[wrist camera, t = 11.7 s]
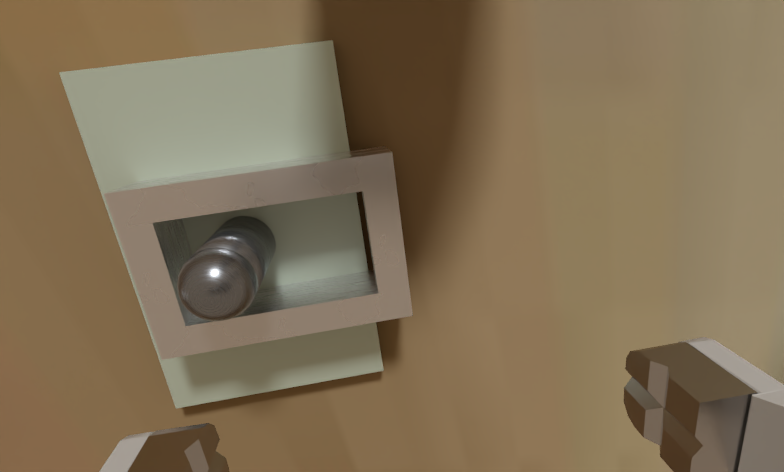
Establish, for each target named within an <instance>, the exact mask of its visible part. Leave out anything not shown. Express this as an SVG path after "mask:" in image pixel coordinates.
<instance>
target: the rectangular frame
mask: <svg viewBox="0 0 784 472" xmlns="http://www.w3.org/2000/svg"><path fill="white" fill-rule="evenodd" d="M360 191H362V198H363V204H364V211H365V217H366V224H367V230H368V237H369V243H370V250H371V256H372V263H373V269H374V270H371V271H365V272H359V273H353V274H347V275H341V276H335V277H329V278H323V279H317V280H311V281H305V282H299V283H293V284H287V285H281V286H275V287H269V288H263V289H259V290H258V292H257V294H256V296H255V299H254V300H253V302H252V303H251V305H250V306H249V307H248V308H247V309H246V310H245V311H244V312H243V313H241V314H240V315H238V316H236V317H234V318H231V319H228V320H224V321H208V320H204V319H201V318H199V317H197V316H195V315H193V314H192V313H191V312H189V311H188V310H187V309H186V308H185V306H184V305H183V303H182V302H181V299H180V297H179V294H178V288H177V282H178V276H179V273H180V270H181V268H182V266H183V265H184V263H185V262H186V261H187V260H188V259H189V258H190V257H191V256H192V255H193V254H192V251H191V247H190V244H189V240H188V237H187V234H186V230H185V227H184V223H183V220H182V218H188V217H195V216H201V215H208V214H214V213H221V212H228V211H234V210H241V209H248V208H254V207H261V206H267V205H274V204H281V203H287V202H294V201H301V200H307V199H314V198H320V197H327V196H334V195H340V194H347V193H354V192H360ZM104 196H105V199H106V202H107V204H108V207H109V210H110V213H111V216H112V219H113V222H114V224H115V227H116V230H117V233H118V236H119V239H120V242H121V244H122V247H123V250H124V253H125V256H126V259H127V262H128V264H129V267H130V270H131V273H132V276H133V279H134V282H135V284H136V287H137V290H138V293H139V296H140V299H141V302H142V304H143V307H144V310H145V313H146V316H147V319H148V322H149V325H150V327H151V330H152V333H153V336H154V339H155V342H156V345H157V347H158V350H159V353H160V356H161V359H162V360H164V359H170V358H176V357H181V356H187V355H193V354H198V353H204V352H210V351H215V350H221V349H227V348H232V347H238V346H244V345H249V344H255V343H261V342H267V341H272V340H278V339H284V338H289V337H295V336H301V335H306V334H312V333H318V332H323V331H329V330H335V329H340V328H346V327H352V326H357V325H363V324H369V323H375V322H380V321H386V320H392V319H397V318H403V317H409V316H413V313H412V305H411V297H410V289H409V281H408V273H407V265H406V257H405V249H404V241H403V233H402V225H401V218H400V210H399V202H398V194H397V186H396V178H395V170H394V162H393V154H392V151H390V150H389V149H388V148H387V147H386V146H381V147H374V148H367V149H360V150H353V151H346V152H339V153H332V154H325V155H318V156H311V157H304V158H297V159H290V160H283V161H276V162H269V163H262V164H255V165H248V166H241V167H234V168H227V169H220V170H213V171H206V172H199V173H192V174H185V175H178V176H171V177H164V178H157V179H150V180H143V181H137V182H134V183H131V184H129V185H126V186H123V187H121V188H118V189H115V190H112V191H110V192H107V193H104Z"/></svg>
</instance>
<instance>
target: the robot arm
mask: <svg viewBox="0 0 784 472" xmlns="http://www.w3.org/2000/svg"><path fill="white" fill-rule="evenodd" d="M625 369H626V370H627V371H628V373H629V374H630V375H631V376H632V378H631V379H630V381H629V382H628V383H627V385H626V386H625V387H624V404H625V407H626V410H627V414H628V417H629V418H630V420H631V422H632V423H633V425H634V427H635V428H636V429H637V430H638V432H639V433H640V434H641V435H642V436H643V437H644V438H646V439H648V440H650V441H652V442H654V443H656V444H658V445H660V457H661V458H662V459H663V460H664V461H665V462H666V464H667V465H668V466H669V467H670V468H671V469H672V470H673V471H674V472H784V385H783V384H782V383H780V382H779V381H777V380H775V379H774V378H772V377H771V376H769V375H768V374H766V373H765V372H763V371H761V370H760V369H758V368H757V367H755V366H754V365H752V364H751V363H749V362H748V361H746V360H744V359H743V358H741V357H740V356H738V355H737V354H735V353H734V352H732V351H731V350H729V349H727V348H726V347H724V346H723V345H721V344H720V343H718V342H717V341H715V340H713V339H710V338H706V337H701V338H696V339H691V340H686V341H681V342H678V343H674V344H668V345H662V346H657V347H651V348H646V349H640V350H634V351H630V352H629V354H628V356H627V358H626V368H625ZM219 440H220V439H219V436H218V434H217V431H216V428H215V426H214V425H212V424H210V423H206V424H199V425H193V426H186V427H179V428H172V429H166V430H159V431H155V432H148V433H141V434H135V435H129V436H127V437H125V438H124V439H122V440H121V441H120V442H119V443H118V445H117V446H116V448H115V449H114V451H113V452H112V454H111V455H110V457H109V458H108V460H107V461H106V462H105V464H104V465H103V467H102V468H101V470H100V471H99V472H229V467H228V464H227V460H226V458H225V457H224V456H222V455H221V454H219V453H218V452H216V448H217V445H218V443H219Z"/></svg>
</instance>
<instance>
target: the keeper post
mask: <svg viewBox="0 0 784 472" xmlns="http://www.w3.org/2000/svg"><path fill="white" fill-rule="evenodd" d="M275 250H276V241H275V237H274V234H273V232H272V231H271V229H270V228H269V227H268V226H267V225H266V224H265V223H264V222H262V221H261V220H259V219H257V218H254V217H250V216H238V217H234V218H231V219H229V220H227V221H226V222H225V223H224V224H223V225H222V226H221V227H220V228H219V229H218V230H217V231H216V232H215V233H214V234H213V235H212V236H211V237H210V238H209V239H208V240H207V241H206V242H205V243H204V244H203V245H202V246H201V247H200V248H199V249H198V250H197V251H196V252H195V253H194V254H193V255H192V256H191V257H190V258H189V259H188V260H187V261H186V262H185V263H184V265H183V266H182V268H181V270H180V273H179V276H178V282H177V288H178V294H179V297H180V299H181V302H182V303H183V305H184V306H185V308H186V309H187V310H188V311H189V312H191V313H192V314H193V315H195V316H197V317H199V318H201V319H204V320H208V321H224V320H228V319H231V318H234V317H236V316H238V315H240V314H241V313H243V312H244V311H245V310H246V309H247V308H248V307H249V306H250V305H251V303H252V302H253V300H254V299H255V296H256V294H257V292H258V290H259V287H260V285H261V283H262V281H263V278H264V276H265V274H266V272H267V269H268V267H269V265H270V263H271V260H272V258H273V256H274V253H275Z"/></svg>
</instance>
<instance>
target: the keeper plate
mask: <svg viewBox="0 0 784 472" xmlns="http://www.w3.org/2000/svg"><path fill="white" fill-rule="evenodd" d="M59 74H60V76H61V79H62V82H63V85H64V88H65V91H66V94H67V97H68V99H69V102H70V105H71V108H72V111H73V114H74V117H75V119H76V122H77V125H78V128H79V131H80V134H81V137H82V140H83V142H84V145H85V148H86V151H87V154H88V157H89V160H90V163H91V165H92V168H93V171H94V174H95V177H96V180H97V183H98V186H99V188H100V191H101V194H102V197H103V200H104V203H105V206H106V209H107V211H108V214H109V217H110V220H111V223H112V226H113V229H114V232H115V234H116V237H117V240H118V243H119V246H120V249H121V252H122V255H123V257H124V260H125V263H126V266H127V269H128V272H129V275H130V277H131V280H132V283H133V286H134V289H135V292H136V295H137V298H138V300H139V303H140V306H141V309H142V312H143V315H144V318H145V321H146V323H147V326H148V329H149V332H150V335H151V338H152V341H153V344H154V346H155V349H156V352H157V355H158V358H159V361H160V364H161V367H162V369H163V372H164V375H165V378H166V381H167V384H168V387H169V390H170V392H171V395H172V398H173V401H174V404H175V407H176V408H182V407H187V406H193V405H198V404H204V403H209V402H215V401H220V400H225V399H231V398H236V397H242V396H247V395H253V394H258V393H264V392H269V391H275V390H280V389H286V388H291V387H297V386H302V385H308V384H313V383H319V382H324V381H330V380H335V379H341V378H346V377H351V376H357V375H362V374H368V373H373V372H379V371H384V370H383V363H382V357H381V350H380V344H379V337H378V331H377V324H376V322H375V323H369V324H363V325H357V326H352V327H346V328H340V329H335V330H329V331H323V332H318V333H312V334H306V335H301V336H295V337H289V338H284V339H278V340H272V341H267V342H261V343H255V344H249V345H244V346H238V347H232V348H227V349H221V350H215V351H210V352H204V353H198V354H193V355H187V356H181V357H176V358H170V359H164V360H162V359H161V356H160V353H159V350H158V347H157V345H156V342H155V339H154V336H153V333H152V330H151V327H150V325H149V322H148V319H147V316H146V313H145V310H144V307H143V304H142V302H141V299H140V296H139V293H138V290H137V287H136V284H135V282H134V279H133V276H132V273H131V270H130V267H129V264H128V262H127V259H126V256H125V253H124V250H123V247H122V244H121V242H120V239H119V236H118V233H117V230H116V227H115V224H114V222H113V219H112V216H111V213H110V210H109V207H108V204H107V202H106V199H105V196H104V193H107V192H110V191H112V190H115V189H118V188H121V187H123V186H126V185H129V184H131V183H134V182H137V181H143V180H150V179H157V178H164V177H171V176H178V175H185V174H192V173H199V172H206V171H213V170H220V169H227V168H234V167H241V166H248V165H255V164H262V163H269V162H276V161H283V160H290V159H297V158H304V157H311V156H318V155H325V154H332V153H339V152H346V151H350V149H349V143H348V136H347V130H346V123H345V117H344V110H343V104H342V97H341V91H340V84H339V78H338V72H337V65H336V59H335V52H334V46H333V40H330V41H321V42H313V43H304V44H296V45H287V46H279V47H270V48H262V49H254V50H245V51H237V52H228V53H220V54H211V55H203V56H195V57H186V58H178V59H169V60H161V61H152V62H144V63H135V64H127V65H119V66H110V67H102V68H93V69H85V70H76V71H68V72H59ZM238 216H250V217H254V218H257V219H259V220H261V221H262V222H264V223H265V224H266V225H267V226H268V227H269V228H270V229H271V231H272V232H273V234H274V237H275V241H276V250H275V253H274V256H273V258H272V260H271V263H270V265H269V267H268V269H267V272H266V274H265V276H264V278H263V281H262V283H261V285H260V287H259V289H263V288H269V287H275V286H281V285H287V284H293V283H299V282H305V281H311V280H317V279H323V278H329V277H335V276H341V275H347V274H353V273H359V272H365V271H368V266H367V259H366V253H365V247H364V240H363V234H362V227H361V221H360V214H359V208H358V201H357V195H356V192H354V193H347V194H340V195H334V196H327V197H320V198H314V199H307V200H301V201H294V202H287V203H281V204H274V205H267V206H261V207H254V208H248V209H241V210H234V211H228V212H221V213H214V214H208V215H201V216H195V217H188V218H182V220H183V223H184V227H185V230H186V234H187V237H188V240H189V244H190V247H191V251H192V254H194V253H195V252H196V251H197V250H198V249H199V248H200V247H201V246H202V245H203V244H204V243H205V242H206V241H207V240H208V239H209V238H210V237H211V236H212V235H213V234H214V233H215V232H216V231H217V230H218V229H219V228H220V227H221V226H222V225H223V224H224V223H225V222H226V221H227V220H229V219H231V218H234V217H238Z"/></svg>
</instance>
